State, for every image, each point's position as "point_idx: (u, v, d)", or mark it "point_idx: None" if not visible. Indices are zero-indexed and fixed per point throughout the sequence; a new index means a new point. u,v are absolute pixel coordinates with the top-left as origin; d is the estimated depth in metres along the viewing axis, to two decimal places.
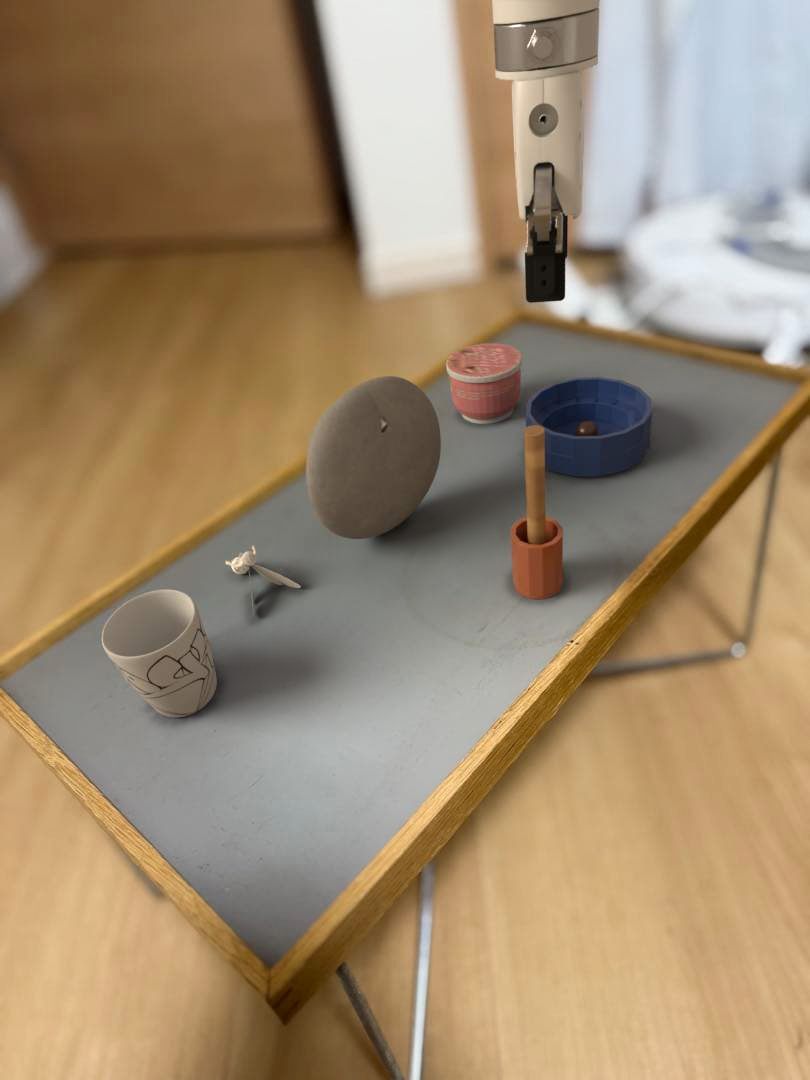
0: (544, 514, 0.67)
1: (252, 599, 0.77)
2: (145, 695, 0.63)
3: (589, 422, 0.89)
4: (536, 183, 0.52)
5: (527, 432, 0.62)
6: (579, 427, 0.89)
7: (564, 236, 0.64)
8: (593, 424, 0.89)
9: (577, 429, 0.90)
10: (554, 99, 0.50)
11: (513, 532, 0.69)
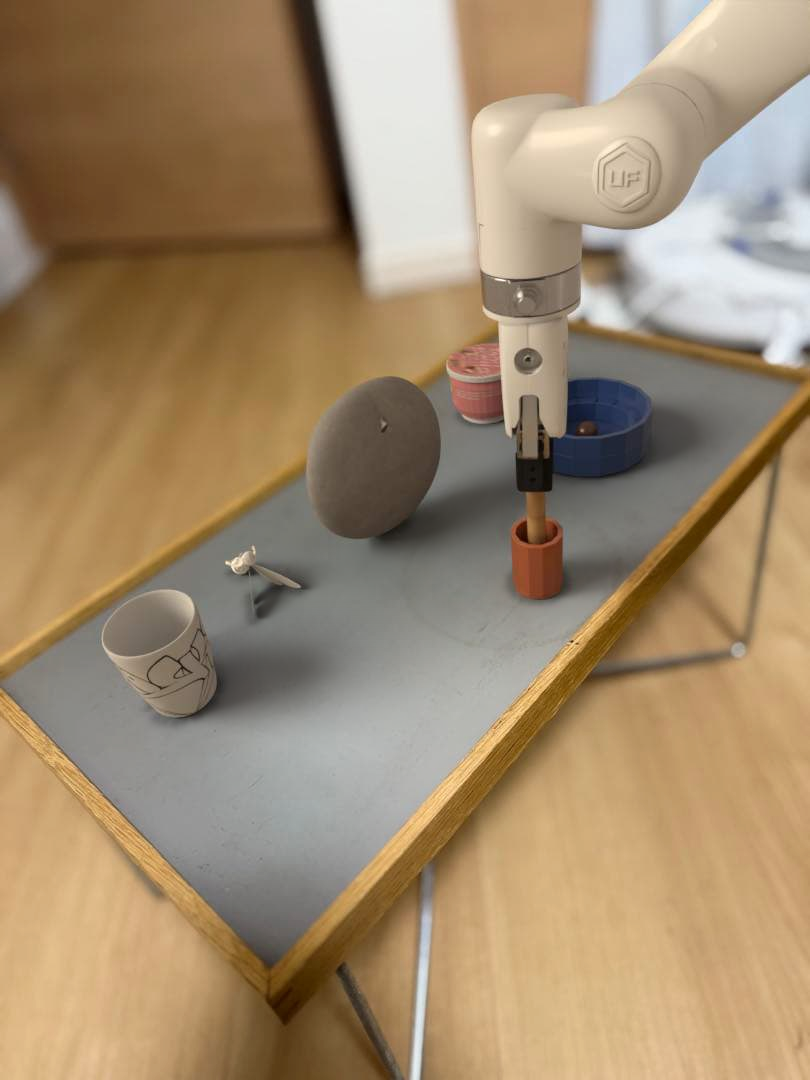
0: (544, 514, 0.67)
1: (252, 599, 0.77)
2: (145, 695, 0.63)
3: (589, 422, 0.89)
4: (523, 426, 0.56)
5: None
6: (579, 427, 0.89)
7: None
8: (593, 424, 0.89)
9: (577, 429, 0.90)
10: (538, 345, 0.52)
11: (513, 532, 0.69)
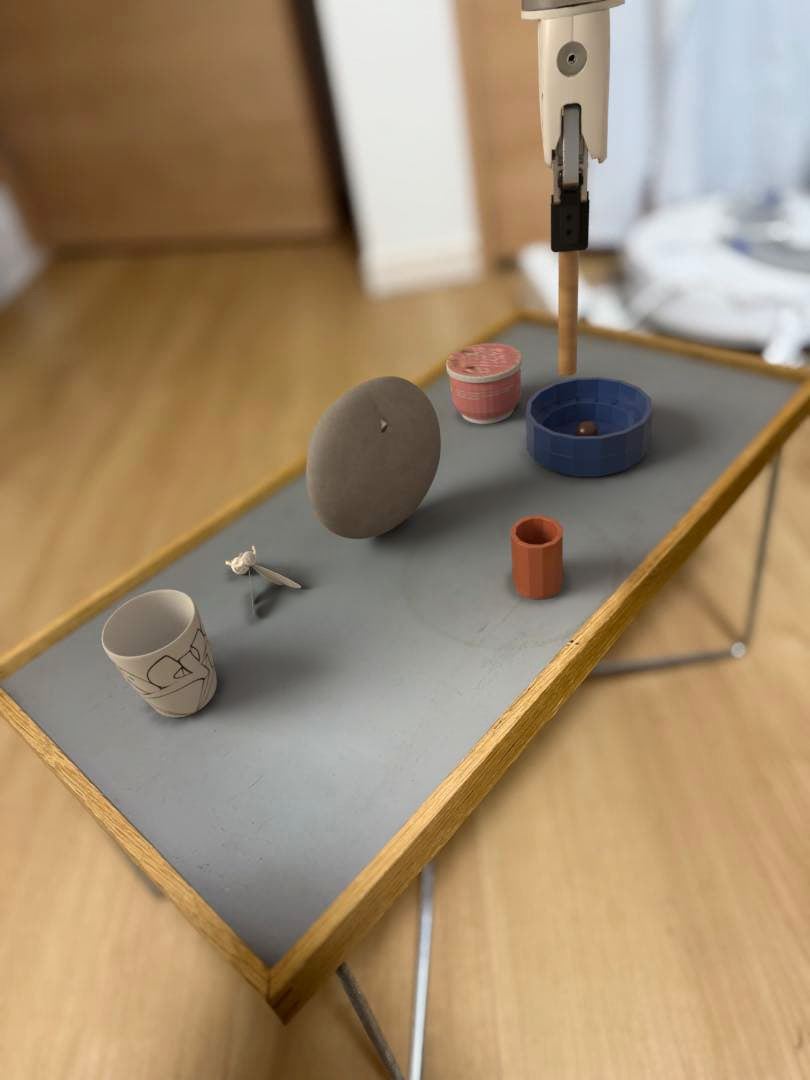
0: (577, 285, 0.65)
1: (252, 599, 0.77)
2: (145, 695, 0.63)
3: (589, 422, 0.89)
4: (564, 146, 0.54)
5: None
6: (579, 427, 0.89)
7: None
8: (593, 424, 0.89)
9: (577, 429, 0.90)
10: (583, 37, 0.49)
11: (513, 532, 0.69)
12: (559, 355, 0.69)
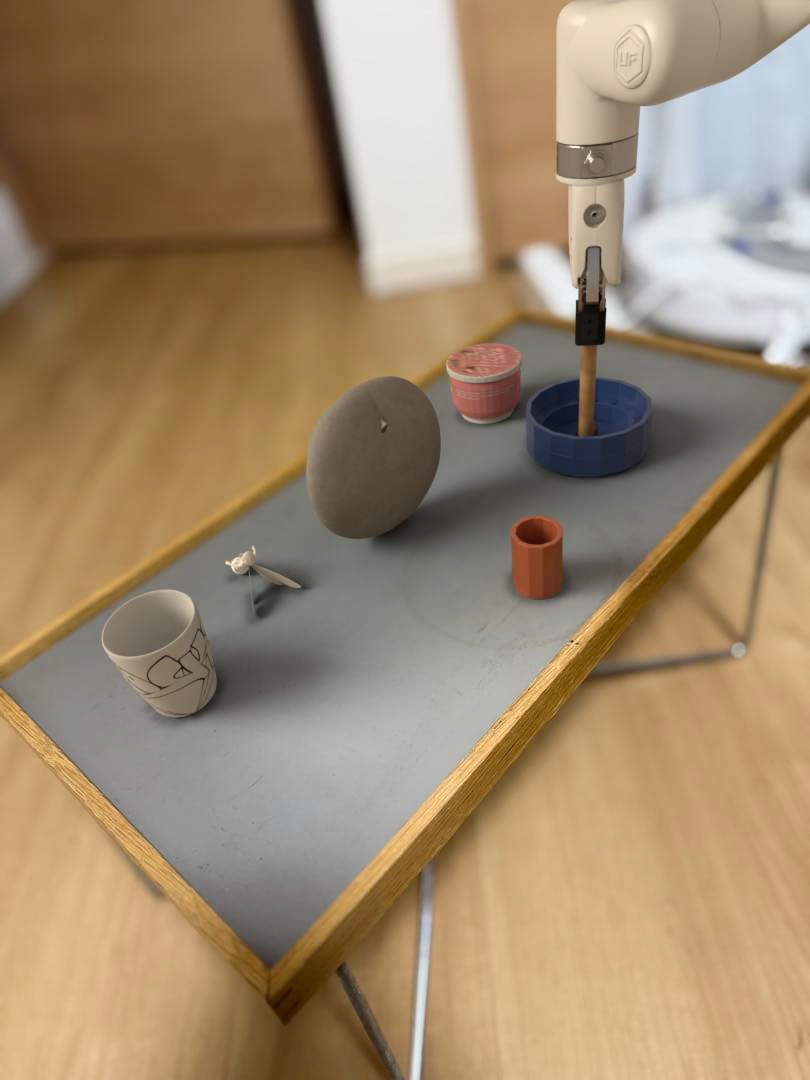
0: (595, 369, 0.81)
1: (252, 599, 0.77)
2: (145, 695, 0.63)
3: None
4: (587, 275, 0.69)
5: (585, 291, 0.75)
6: None
7: None
8: None
9: (577, 429, 0.90)
10: (604, 201, 0.65)
11: (513, 532, 0.69)
12: (579, 421, 0.85)
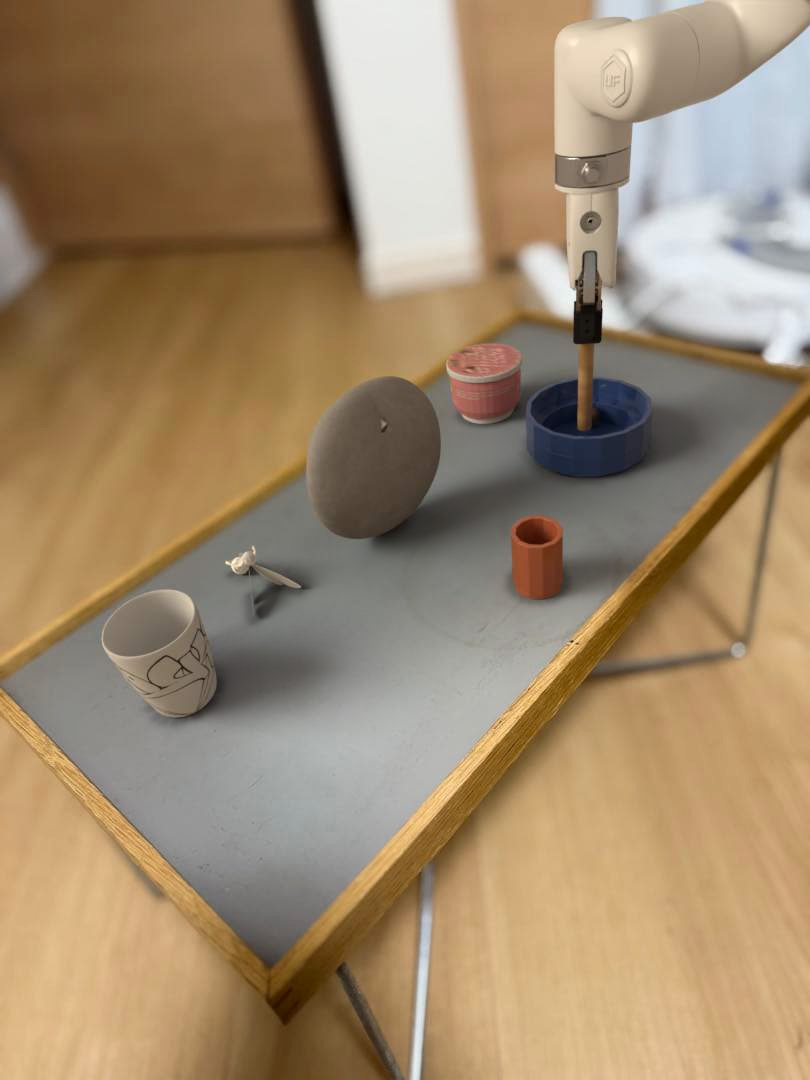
0: (592, 366, 0.85)
1: (252, 599, 0.77)
2: (145, 695, 0.63)
3: None
4: (584, 278, 0.74)
5: None
6: None
7: None
8: None
9: None
10: (599, 208, 0.70)
11: (513, 532, 0.69)
12: (578, 416, 0.90)
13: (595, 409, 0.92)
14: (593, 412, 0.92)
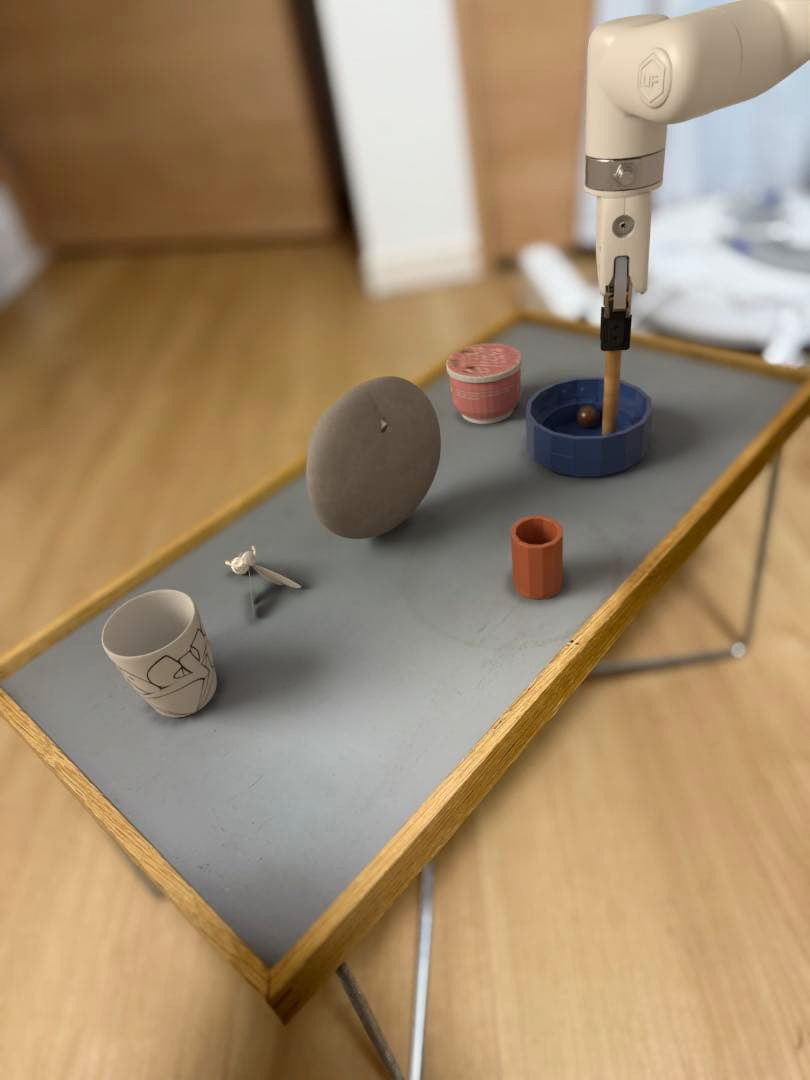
0: (619, 373, 0.83)
1: (252, 599, 0.77)
2: (145, 695, 0.63)
3: None
4: (615, 283, 0.72)
5: (611, 298, 0.78)
6: None
7: None
8: None
9: None
10: (632, 212, 0.68)
11: (513, 532, 0.69)
12: (603, 424, 0.88)
13: (595, 410, 0.92)
14: (593, 414, 0.92)
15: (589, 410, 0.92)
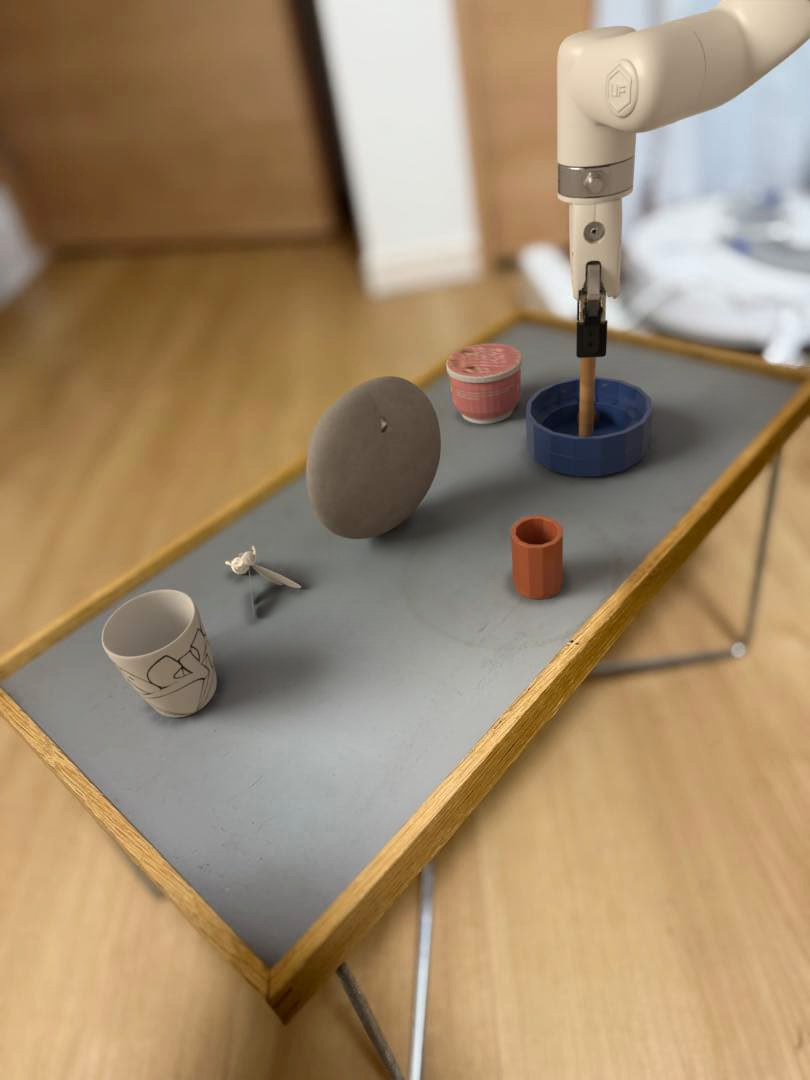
0: (594, 381, 0.85)
1: (252, 599, 0.77)
2: (145, 695, 0.63)
3: None
4: (588, 276, 0.71)
5: None
6: None
7: None
8: None
9: None
10: (602, 219, 0.69)
11: (513, 532, 0.69)
12: (579, 430, 0.90)
13: (595, 411, 0.92)
14: None
15: None
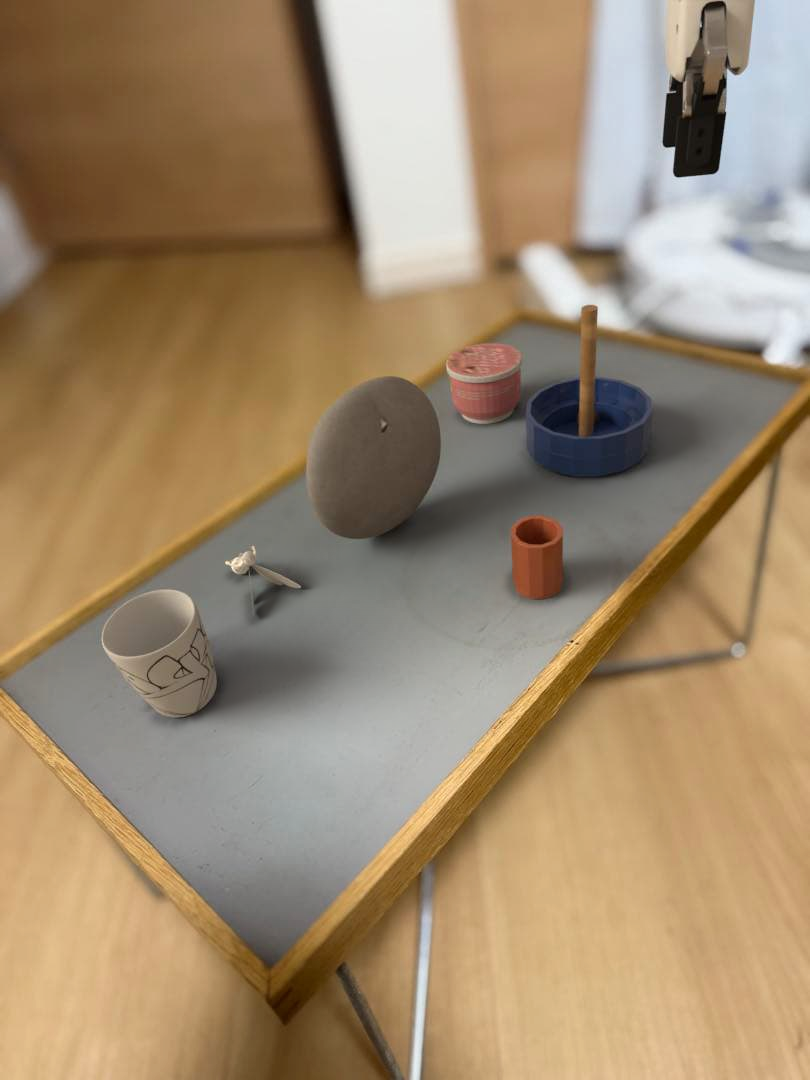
0: (594, 381, 0.85)
1: (252, 599, 0.77)
2: (145, 695, 0.63)
3: None
4: (707, 24, 0.46)
5: (584, 309, 0.80)
6: None
7: None
8: None
9: None
10: None
11: (513, 532, 0.69)
12: (579, 430, 0.90)
13: (595, 413, 0.92)
14: None
15: None
